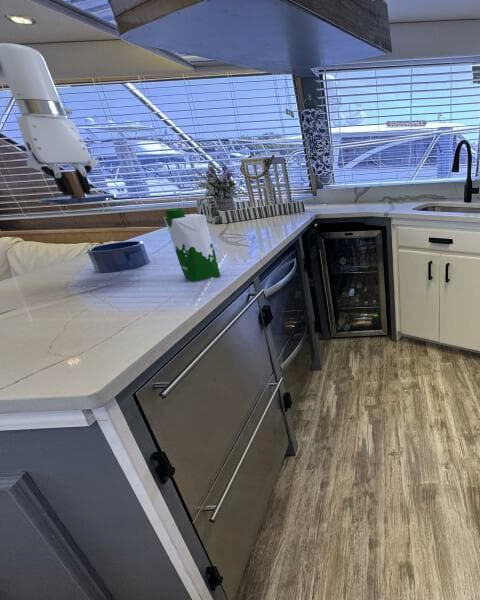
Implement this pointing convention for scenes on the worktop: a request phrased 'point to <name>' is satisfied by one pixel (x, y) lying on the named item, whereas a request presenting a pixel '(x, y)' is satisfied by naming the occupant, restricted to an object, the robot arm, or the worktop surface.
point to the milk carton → (192, 244)
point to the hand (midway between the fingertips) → (77, 193)
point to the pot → (118, 256)
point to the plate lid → (75, 192)
